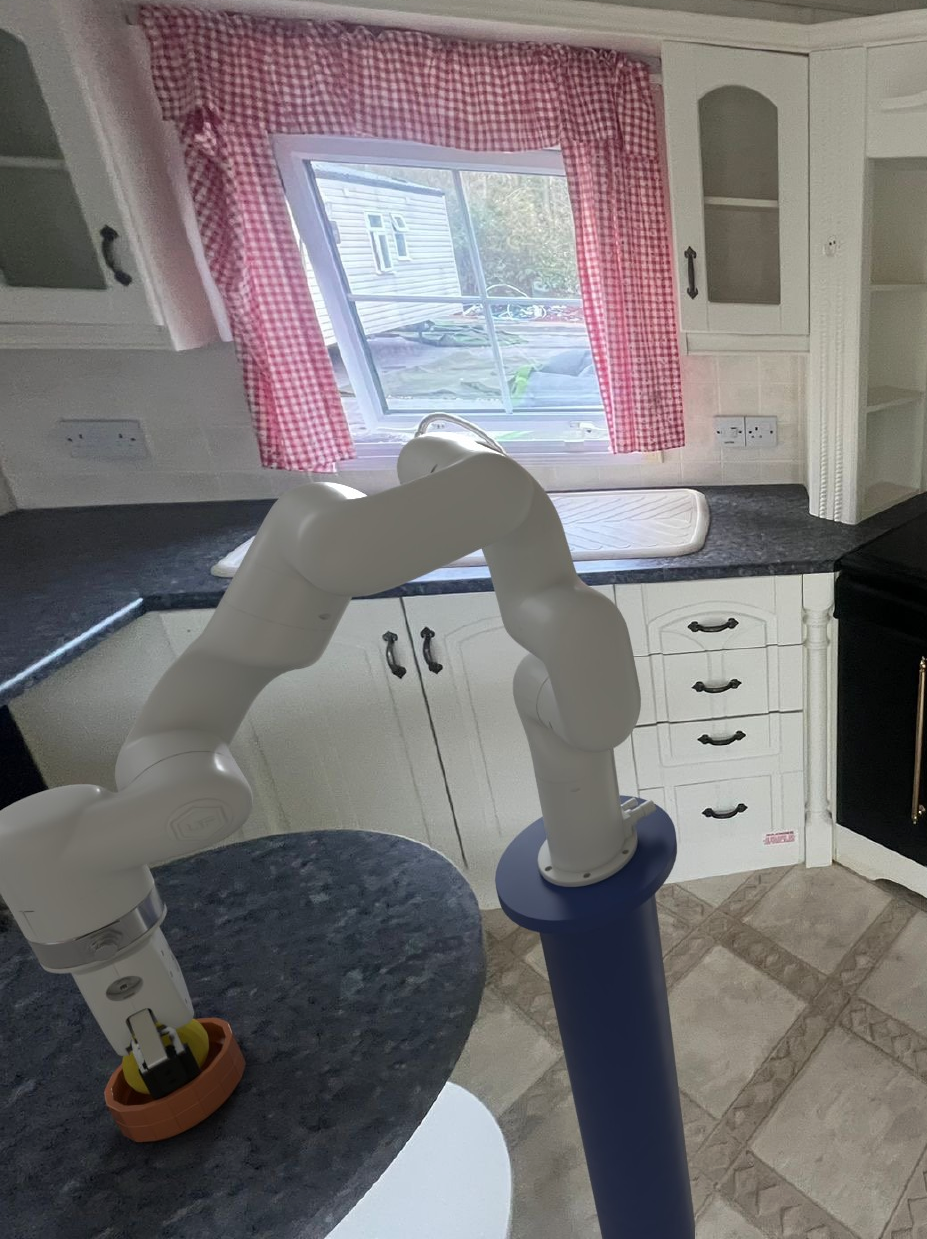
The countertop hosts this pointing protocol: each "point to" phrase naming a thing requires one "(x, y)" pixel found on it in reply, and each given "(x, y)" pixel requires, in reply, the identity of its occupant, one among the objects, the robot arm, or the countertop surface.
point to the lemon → (188, 1034)
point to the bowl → (179, 1091)
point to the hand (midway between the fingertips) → (171, 1061)
